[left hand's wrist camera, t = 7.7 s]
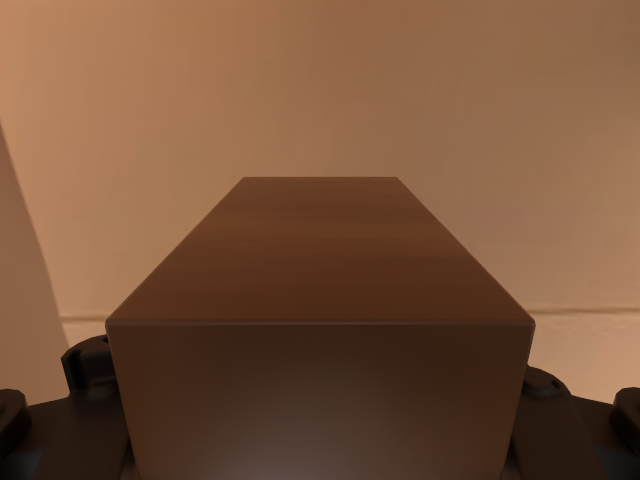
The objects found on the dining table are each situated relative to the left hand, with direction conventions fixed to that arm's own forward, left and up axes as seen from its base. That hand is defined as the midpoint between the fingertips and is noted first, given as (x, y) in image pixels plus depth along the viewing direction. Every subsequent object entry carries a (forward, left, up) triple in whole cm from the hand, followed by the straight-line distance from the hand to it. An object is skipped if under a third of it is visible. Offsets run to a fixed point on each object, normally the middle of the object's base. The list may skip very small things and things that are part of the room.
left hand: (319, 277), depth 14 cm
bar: (+8, +2, -1) cm, 8 cm away
